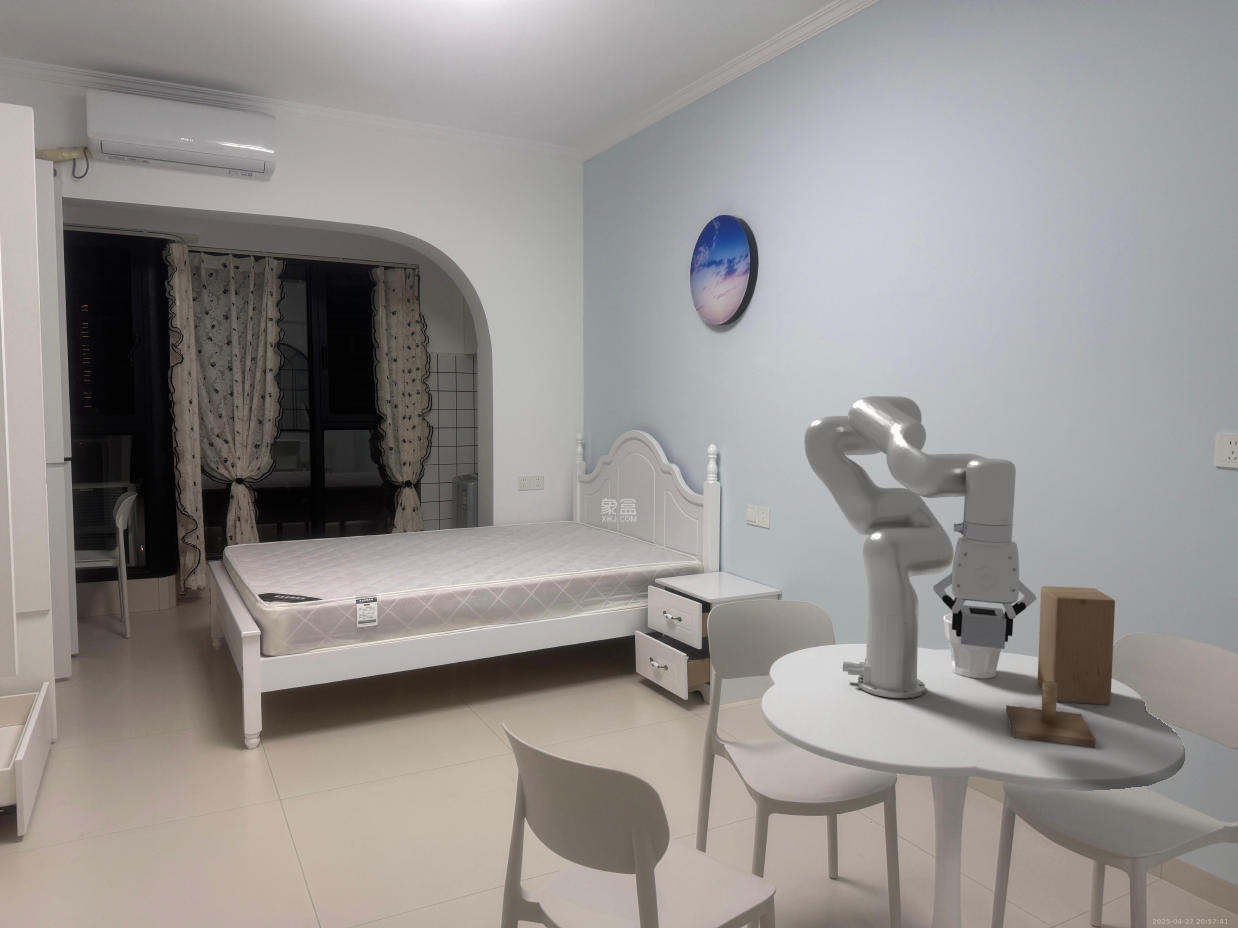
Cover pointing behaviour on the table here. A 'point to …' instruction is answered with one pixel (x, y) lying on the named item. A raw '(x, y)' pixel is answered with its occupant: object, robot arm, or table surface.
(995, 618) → the collar
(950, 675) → the table surface
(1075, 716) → the post base
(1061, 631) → the wooden block
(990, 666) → the cup
